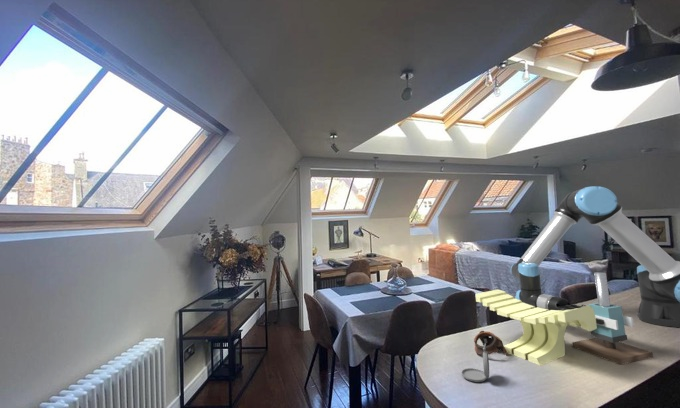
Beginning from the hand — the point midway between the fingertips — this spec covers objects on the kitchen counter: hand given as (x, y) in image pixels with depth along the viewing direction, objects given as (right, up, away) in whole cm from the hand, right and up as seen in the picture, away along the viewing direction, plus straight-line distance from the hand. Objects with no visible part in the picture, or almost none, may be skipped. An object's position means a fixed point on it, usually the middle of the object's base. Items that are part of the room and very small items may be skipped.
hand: (624, 323), depth 90 cm
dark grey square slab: (-1, -6, +4) cm, 8 cm away
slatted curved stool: (-24, -13, +7) cm, 28 cm away
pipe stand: (-1, -11, +4) cm, 12 cm away
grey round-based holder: (-50, -13, -8) cm, 52 cm away
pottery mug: (-39, -14, +8) cm, 42 cm away
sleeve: (-1, -5, +4) cm, 7 cm away
